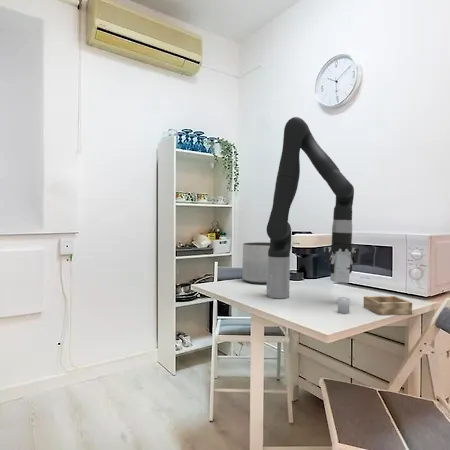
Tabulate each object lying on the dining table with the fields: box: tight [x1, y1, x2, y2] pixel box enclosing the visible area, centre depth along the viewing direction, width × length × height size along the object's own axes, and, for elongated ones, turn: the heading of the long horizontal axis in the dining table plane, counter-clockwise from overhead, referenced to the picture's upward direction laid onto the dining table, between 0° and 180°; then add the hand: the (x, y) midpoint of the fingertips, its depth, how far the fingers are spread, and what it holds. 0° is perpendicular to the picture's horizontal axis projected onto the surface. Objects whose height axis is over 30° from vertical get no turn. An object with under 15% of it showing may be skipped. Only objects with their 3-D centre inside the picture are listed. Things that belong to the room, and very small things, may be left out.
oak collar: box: [363, 295, 413, 316], centre depth 123 cm, size 12×10×4 cm
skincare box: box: [330, 251, 352, 283], centre depth 133 cm, size 6×4×12 cm
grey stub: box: [337, 296, 350, 315], centre depth 120 cm, size 4×4×5 cm
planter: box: [241, 241, 270, 285], centre depth 180 cm, size 23×23×20 cm
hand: (340, 273), depth 134 cm, fingers closed on skincare box, 6 cm apart
